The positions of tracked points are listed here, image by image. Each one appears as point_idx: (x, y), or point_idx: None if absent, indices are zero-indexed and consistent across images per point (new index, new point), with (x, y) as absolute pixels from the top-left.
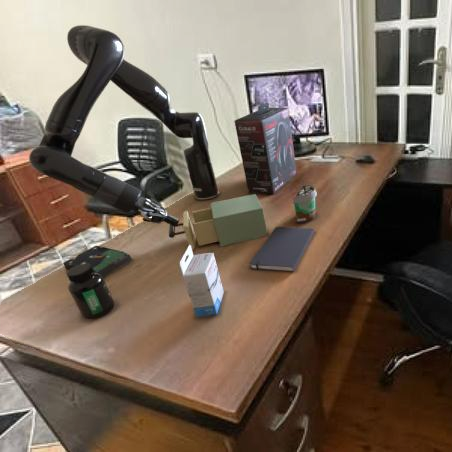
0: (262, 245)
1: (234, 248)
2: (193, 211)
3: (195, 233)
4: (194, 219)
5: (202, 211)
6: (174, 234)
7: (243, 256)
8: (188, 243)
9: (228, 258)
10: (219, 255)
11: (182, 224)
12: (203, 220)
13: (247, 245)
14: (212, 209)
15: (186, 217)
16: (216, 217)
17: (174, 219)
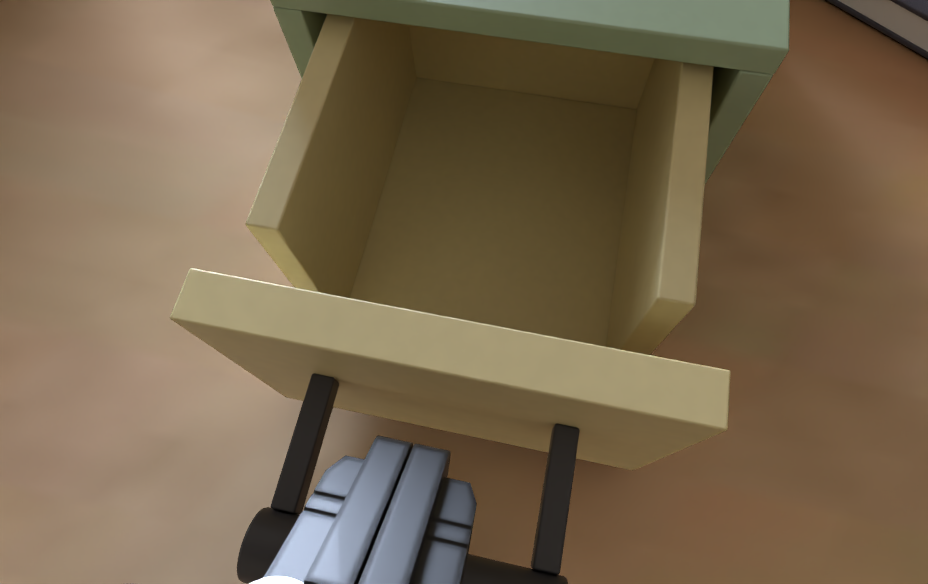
0: (910, 6)
1: (760, 171)
2: (261, 208)
3: (656, 343)
4: (311, 270)
5: (321, 129)
6: (560, 576)
7: (916, 154)
8: (650, 462)
9: (896, 244)
10: (813, 286)
11: (326, 419)
12: (346, 206)
13: (765, 92)
14: (493, 3)
15: (411, 323)
16: (776, 18)
17: (438, 498)
